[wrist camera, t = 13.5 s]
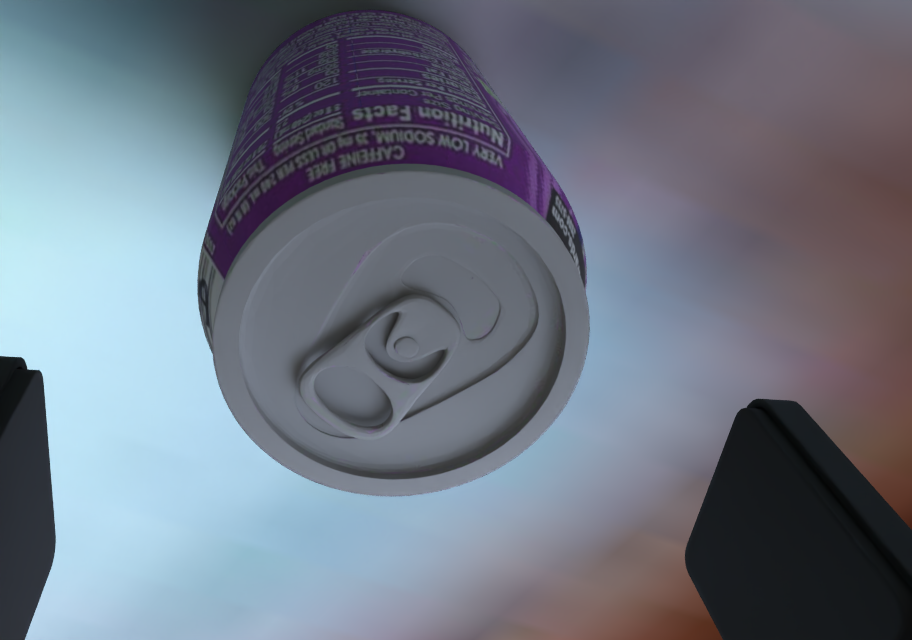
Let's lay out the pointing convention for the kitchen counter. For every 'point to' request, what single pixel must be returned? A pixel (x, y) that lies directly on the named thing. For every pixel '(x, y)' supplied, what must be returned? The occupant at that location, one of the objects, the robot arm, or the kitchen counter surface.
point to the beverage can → (389, 265)
